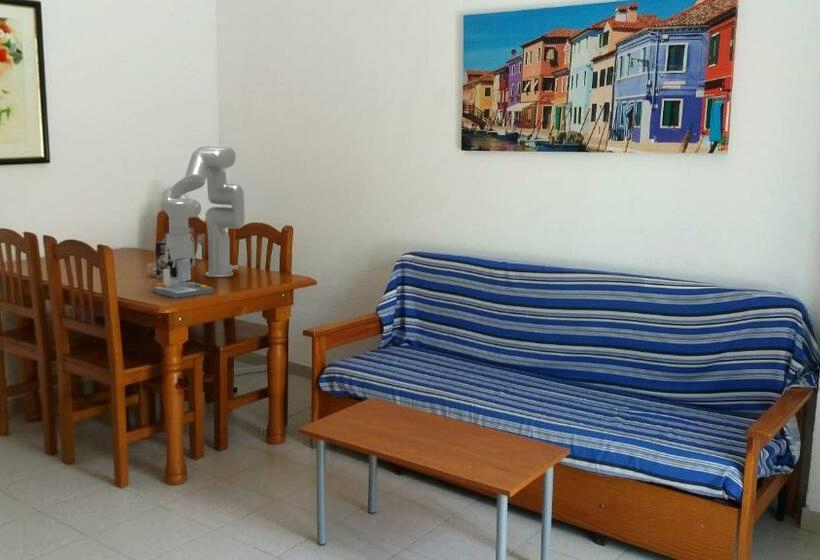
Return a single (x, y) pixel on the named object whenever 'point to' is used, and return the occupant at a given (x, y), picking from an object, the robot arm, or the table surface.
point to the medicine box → (182, 270)
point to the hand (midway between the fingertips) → (179, 275)
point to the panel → (182, 289)
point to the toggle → (168, 278)
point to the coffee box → (160, 258)
